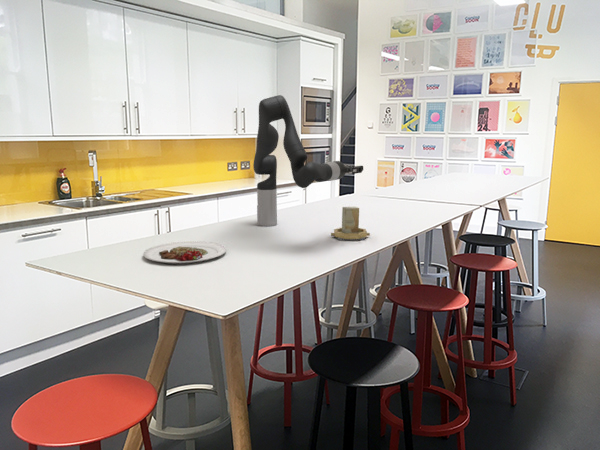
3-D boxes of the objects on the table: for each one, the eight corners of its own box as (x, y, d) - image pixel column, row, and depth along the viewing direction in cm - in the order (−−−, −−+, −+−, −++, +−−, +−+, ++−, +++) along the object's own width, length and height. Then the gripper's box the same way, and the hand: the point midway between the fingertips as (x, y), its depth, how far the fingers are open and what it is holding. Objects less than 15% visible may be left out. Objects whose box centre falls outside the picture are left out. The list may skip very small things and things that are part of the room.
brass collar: (332, 239, 209) (332, 233, 208) (330, 232, 222) (330, 227, 221) (371, 238, 209) (371, 233, 208) (367, 232, 222) (367, 227, 221)
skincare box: (345, 237, 212) (345, 208, 210) (341, 235, 216) (341, 206, 214) (359, 236, 214) (359, 207, 212) (354, 234, 218) (355, 206, 216)
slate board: (338, 240, 210) (338, 238, 210) (336, 234, 221) (336, 232, 220) (364, 240, 210) (364, 238, 210) (361, 234, 221) (361, 232, 221)
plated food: (192, 242, 208) (191, 234, 208) (243, 254, 190) (242, 245, 189) (127, 257, 186) (126, 248, 185) (177, 272, 167) (177, 262, 166)
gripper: (346, 162, 199) (368, 159, 211) (317, 160, 207) (340, 157, 220) (346, 181, 200) (368, 177, 212) (317, 179, 209) (339, 175, 221)
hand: (353, 167), depth 216 cm, fingers open, 8 cm apart
